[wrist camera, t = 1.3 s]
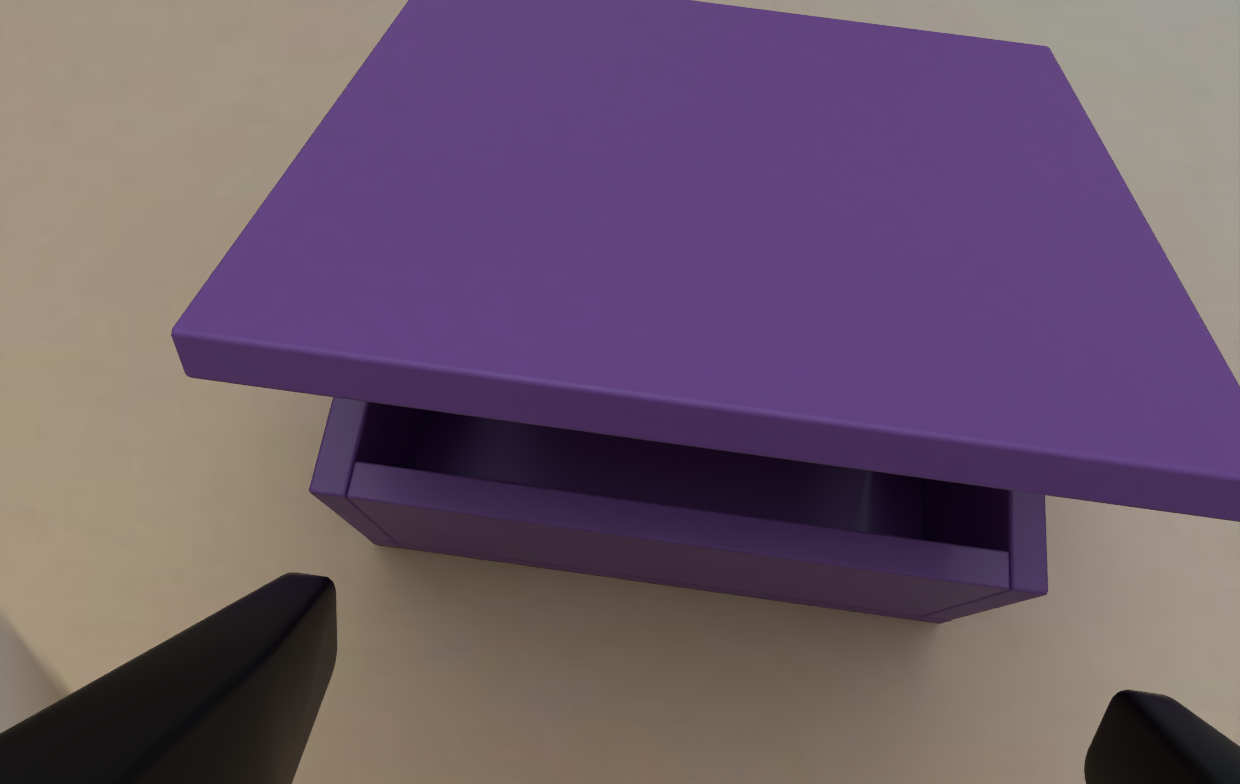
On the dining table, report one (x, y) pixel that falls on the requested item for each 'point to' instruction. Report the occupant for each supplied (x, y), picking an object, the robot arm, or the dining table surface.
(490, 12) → the lid
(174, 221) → the dining table surface
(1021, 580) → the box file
